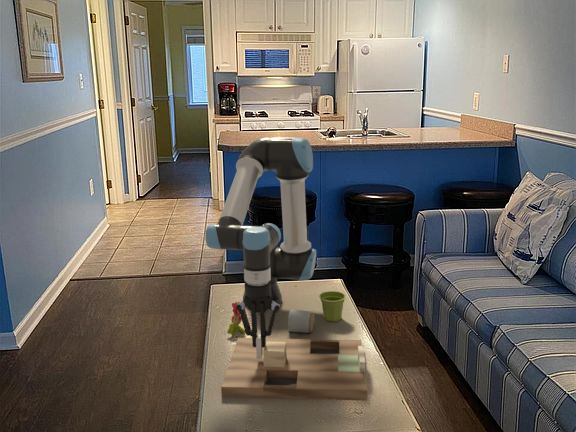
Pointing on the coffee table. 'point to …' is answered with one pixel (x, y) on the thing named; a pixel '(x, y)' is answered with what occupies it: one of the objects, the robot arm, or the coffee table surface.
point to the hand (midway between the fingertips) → (259, 356)
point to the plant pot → (332, 305)
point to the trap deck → (299, 371)
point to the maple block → (275, 354)
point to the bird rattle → (235, 321)
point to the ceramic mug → (300, 321)
